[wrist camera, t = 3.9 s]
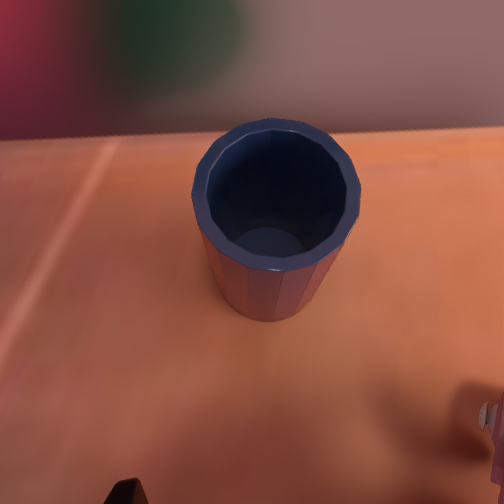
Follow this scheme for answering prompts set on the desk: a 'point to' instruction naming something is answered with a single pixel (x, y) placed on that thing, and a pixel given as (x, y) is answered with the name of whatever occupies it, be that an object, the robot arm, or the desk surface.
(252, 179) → the pencil cup
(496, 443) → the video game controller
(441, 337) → the desk surface
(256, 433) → the desk surface
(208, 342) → the desk surface
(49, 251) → the desk surface
